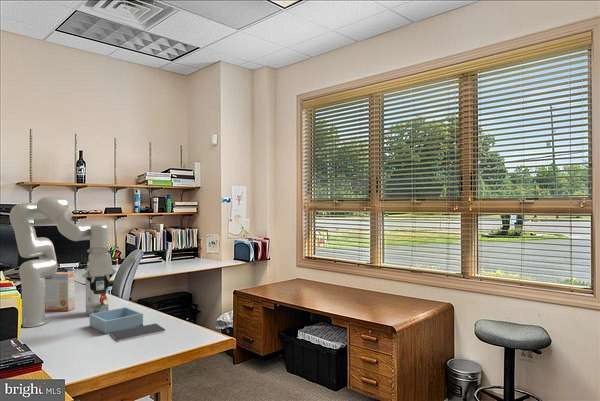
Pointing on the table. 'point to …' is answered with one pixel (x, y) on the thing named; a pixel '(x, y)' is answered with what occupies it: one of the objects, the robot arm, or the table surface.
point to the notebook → (137, 332)
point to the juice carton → (95, 300)
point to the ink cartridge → (100, 285)
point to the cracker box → (59, 292)
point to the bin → (116, 320)
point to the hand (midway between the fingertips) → (99, 289)
